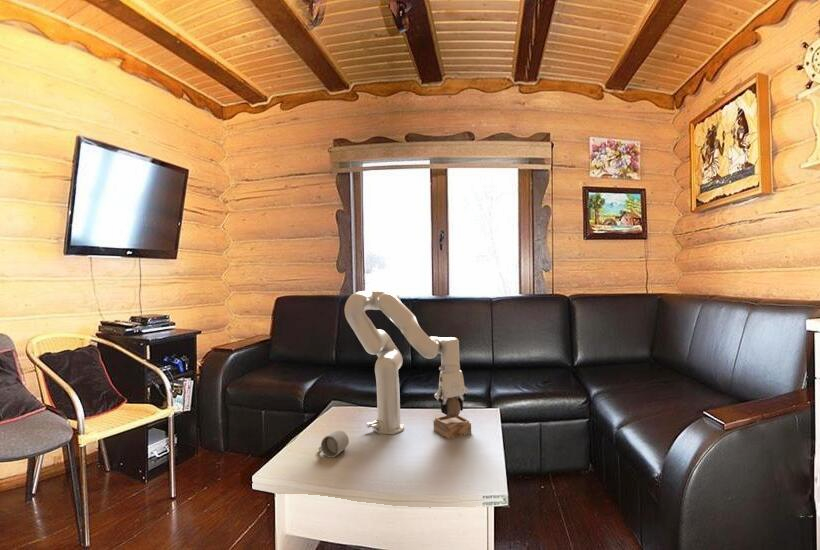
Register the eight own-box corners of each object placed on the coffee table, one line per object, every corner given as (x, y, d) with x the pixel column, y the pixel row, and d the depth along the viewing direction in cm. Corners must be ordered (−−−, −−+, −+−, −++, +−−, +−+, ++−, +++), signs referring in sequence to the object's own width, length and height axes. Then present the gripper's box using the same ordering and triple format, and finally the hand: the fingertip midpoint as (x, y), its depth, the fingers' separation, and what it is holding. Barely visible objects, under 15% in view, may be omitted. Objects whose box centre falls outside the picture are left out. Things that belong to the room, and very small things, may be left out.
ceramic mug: (350, 449, 152) (350, 429, 152) (338, 459, 144) (338, 437, 144) (326, 446, 156) (325, 426, 156) (313, 455, 148) (313, 434, 148)
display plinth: (448, 439, 159) (447, 426, 159) (433, 429, 168) (433, 417, 168) (471, 433, 164) (470, 421, 164) (455, 424, 173) (455, 412, 173)
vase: (449, 420, 161) (449, 398, 161) (440, 415, 167) (439, 394, 167) (464, 416, 164) (463, 395, 164) (454, 411, 171) (453, 391, 171)
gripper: (437, 373, 159) (438, 418, 159) (473, 366, 167) (475, 410, 167) (427, 369, 165) (429, 413, 165) (462, 363, 173) (464, 405, 173)
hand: (452, 411), depth 166 cm, fingers closed on vase, 6 cm apart
